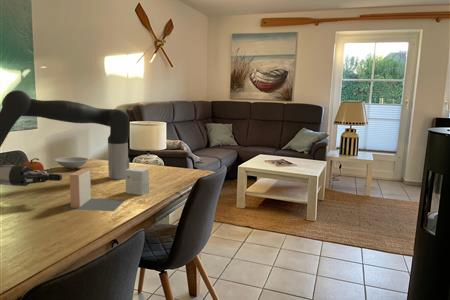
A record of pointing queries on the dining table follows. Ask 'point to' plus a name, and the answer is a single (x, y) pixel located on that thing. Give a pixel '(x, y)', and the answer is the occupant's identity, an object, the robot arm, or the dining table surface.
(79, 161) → the dish
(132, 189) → the small box
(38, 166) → the fruit
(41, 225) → the dining table surface
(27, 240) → the dining table surface
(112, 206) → the mat
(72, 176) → the pink rectangular block
